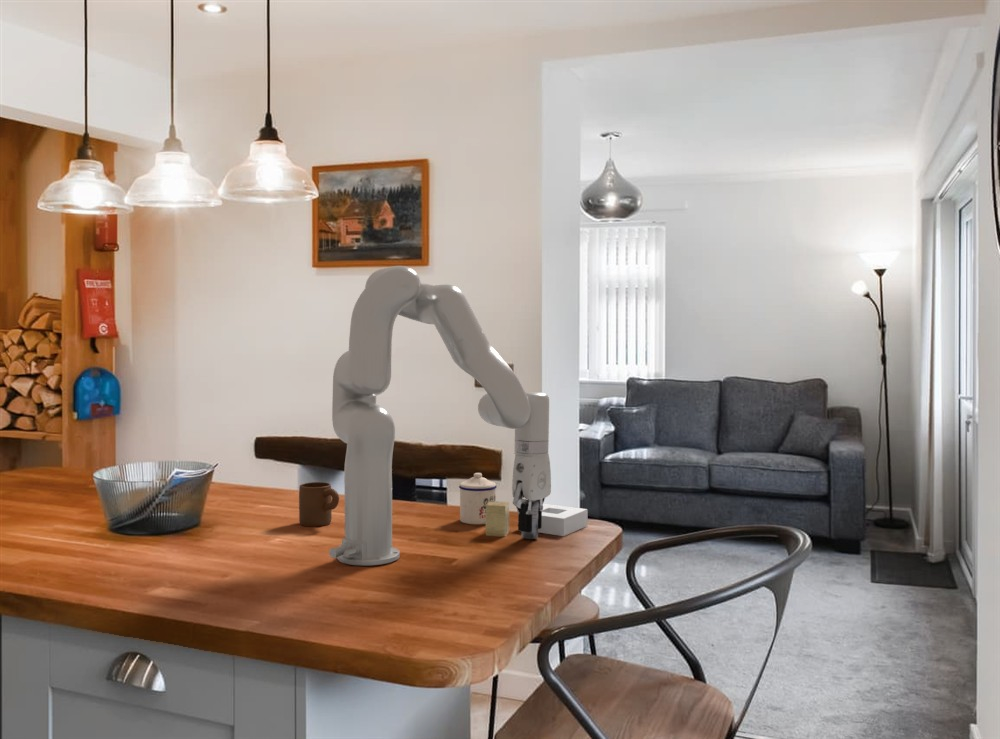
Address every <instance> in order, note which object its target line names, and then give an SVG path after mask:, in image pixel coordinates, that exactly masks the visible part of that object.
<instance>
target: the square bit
mask: <svg viewBox="0 0 1000 739" xmlns="http://www.w3.org/2000/svg"><path fill="white" fill-rule="evenodd" d="M509 533H510V502H509V501H490V502H489V503H487V504H486V524H485V537H486V536H487V537H488V536H489V537H504V538H505V537H506V536H507V535H508V534H509Z"/></svg>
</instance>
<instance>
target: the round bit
mask: <svg viewBox="0 0 1000 739" xmlns="http://www.w3.org/2000/svg"><path fill="white" fill-rule="evenodd" d="M523 503H524V504H525V505H526V506H527V503H526V502H523ZM538 503H539V501H537V500H536V501H532V502H531V513H530V514H532V532H530V533H529V532H522V531H521V538H523V539H527V540H535V539H538V538H539V532H538Z"/></svg>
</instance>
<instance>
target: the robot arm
mask: <svg viewBox="0 0 1000 739" xmlns="http://www.w3.org/2000/svg"><path fill="white" fill-rule="evenodd" d="M365 282H366V283H365V287H364V289H363V291H361V294H359V296H358V298H357V300H356V302H355V303H354V304H355V305H354V307H353V308H352V309H353V310H352V313H351V317H350V327H349V337H348V338H349V339H348V350H347V351H346V352H344V353H342V354H341V355H340V356H339V358H338V359H337V361H336V364H335V365H334V366H335V367H334V370H333V375H332V402H331V403H332V404H331V405H332V407H331V409H332V410H331V412H332V413H331V416H332V417H331V418H332V419H331V420H332V428H333V431H334V433H335V435H336V436H337V437H338V439H340V440H341V441H342V442H343V443H344V444H346V452H345V460H344V470H343V471H344V472H343V473H344V477H343V478H344V482H343V483H344V538H341V544H340V545H339V546H335V547H332V548H330V549H329V552H328V554H329V557H330V558H332V559H336V558H337V561H339V562H340V563H342V564H345V565H350V566H360V567H361V566H364V567H365V566H367V567H368V566H378V565H386V564H391V563H393V562H395V561H397V560H399V558H400V557H401V556H400V555H401V551H400V550H399V549H398V548H396V547H393V475H392V474H393V472H392V471H393V468H392V467H393V454H394V453H393V452H394V447H395V446H394V445H395V438H396V426H395V422H394V420H393V417H392V415H391V414H390V413H389V411H387V409H385V408H384V407H382V406H381V405H379V404H377V396H379V395H381V394H383V393H384V392H385V391H386V390H387V389H388V388H389V385H390V382H391V379H392V345H393V344H392V343H393V342H392V340H393V329H394V324H395V321H396V319H397V317H398V316H400V317H403V318H407V319H409V320H412V321H416V322H420V323H421V324H422V323H423V324H428V325H433V326H435V329H436V330H437V332H438V333H439V335H440V338H441V340H442V341H443V343H444V345H445V347H446V349H447V351H448V352H449V354H450V356H451V359H452V360H453V362H454V364H456V365H457V366H458V367H459V368H460V369H461V370H463V371H464V372H465V373H467V374H468V375H469V376H471V377H472V378H473V379H475V380H476V381H477V382H478V383H479V384H480V385H481V387H482V388H483V390H484V391H485V392H486V394H484V395H482V397H481V398H480V399H479V402H478V405H477V411H478V415H479V416H480V418H481V419H482V420H483V421H484V422H486V423H488V424H490V425H492V426H498V427H502V428H506V429H512V430H514V460H513V461H514V462H513V468H512V469H513V470H512V483H511V484H512V485H511V487H512V488H511V492H512V497H513V499H512V505H514V506H515V507H516V510H517V512H516V513H517V516H518V520H517V521H518V525H517V527H518V528H517V529H518V531H519V532H521V533H522V532H529V533H530V532H532V514H530V513H531V502H532V501H536V500H537V501H539V503H538V529H540V528H541V527H542V510H543V504H544V503H545V499H546V498H548V497H549V496H550V495H551V493H552V492H551V491H552V481H551V480H552V477H551V476H552V473H551V460H550V455H549V437H550V436H549V433H550V431H549V430H550V397H549V395H548V394H547V393H545V392H541V391H540V392H539V391H525V389H524V387H523V386H522V384H521V381H520V379H519V378H518V377H517V375H516V373H515V372H514V370H513V369H512V368H511V366H510V365H509V364H508V363H507V362H506V360H504V359H503V357H502V356H501V355H500V354H499V352H498V351H497V350H496V349H495V347H493V346H492V344H491V343H490V341H489V340H488V338H487V336H486V334H485V332H484V331H483V328H482V327H481V324H480V323H479V320H478V319H477V317H476V314H475V312H474V311H473V309H472V307H471V304H470V303H469V301H468V299H467V298H466V296H465V294H464V292H463V291H462V290H461V289H460V288H459V287H458V286H456V285H452V284H437V285H432V284H428V283H425V282H421V280H420V275H418V273H417V271H415V269H413V268H411V267H409V266H405V265H393V266H389V267H385V268H380V269H378V270H375V271H374V272H372V273H371V274H370V275H369V276H368V278H367V279H366V281H365ZM523 502H526V503H527V506H526V505H525V504H524V503H523ZM540 510H541V511H540Z"/></svg>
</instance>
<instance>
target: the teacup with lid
mask: <svg viewBox="0 0 1000 739" xmlns="http://www.w3.org/2000/svg"><path fill="white" fill-rule="evenodd" d="M458 488H459V520H460V522H461V523H464V524H467V525H475V526H476V525H479V526H481V525H486V504H487V503H489V502H490V501H496V497H497V496H496V492H497V491H496V489H497V484H496V483H495V481H492V480H489V479H487V478H485V477H483V474H482V472H475V473H473V476H472V477H470V478H469V479H466V480H464V481H462V482H460V483H459V486H458Z"/></svg>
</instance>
